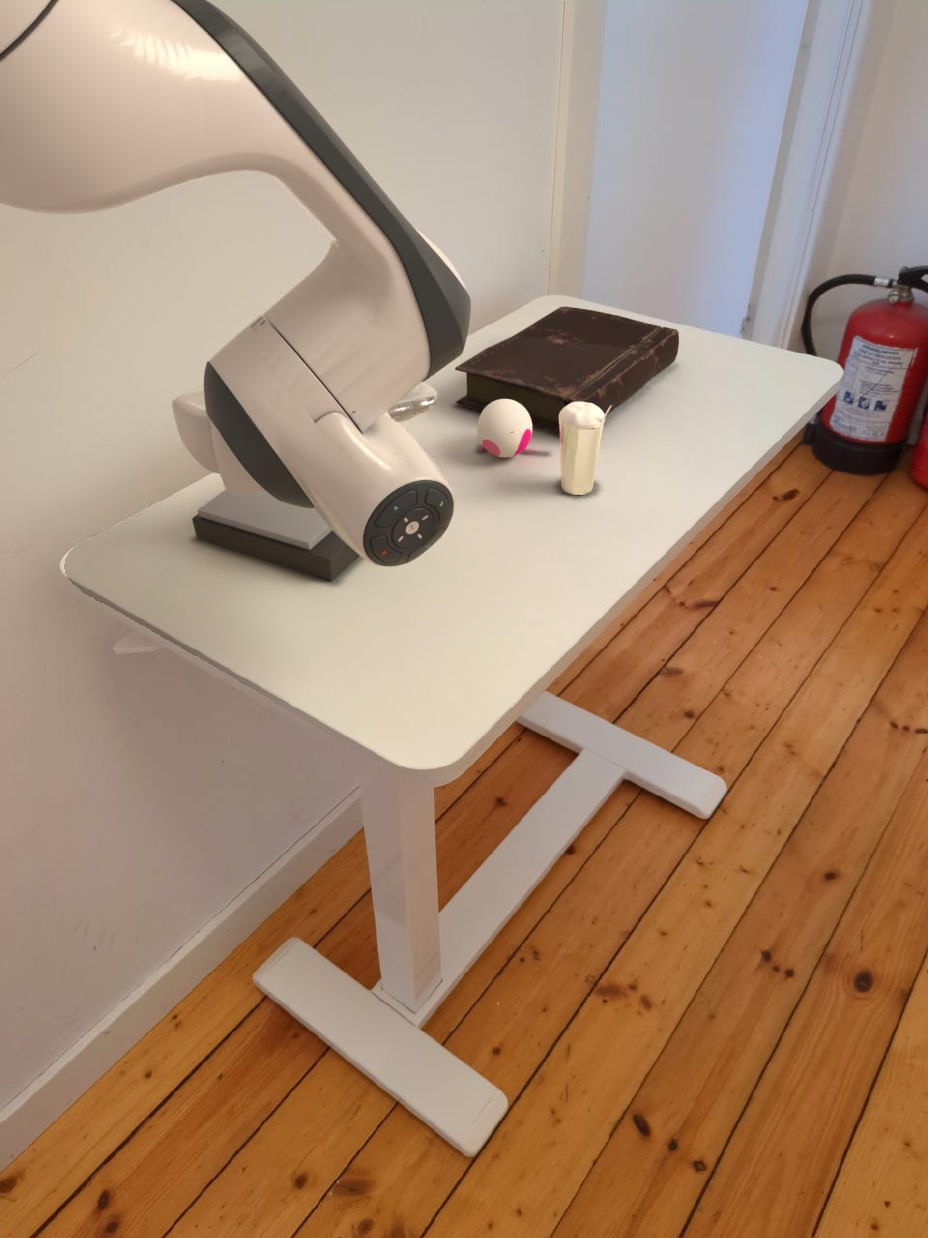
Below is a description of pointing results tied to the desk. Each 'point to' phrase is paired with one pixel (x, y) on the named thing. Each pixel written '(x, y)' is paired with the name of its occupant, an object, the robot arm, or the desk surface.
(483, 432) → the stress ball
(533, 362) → the diary
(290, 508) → the scale
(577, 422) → the milkshake
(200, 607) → the desk surface
